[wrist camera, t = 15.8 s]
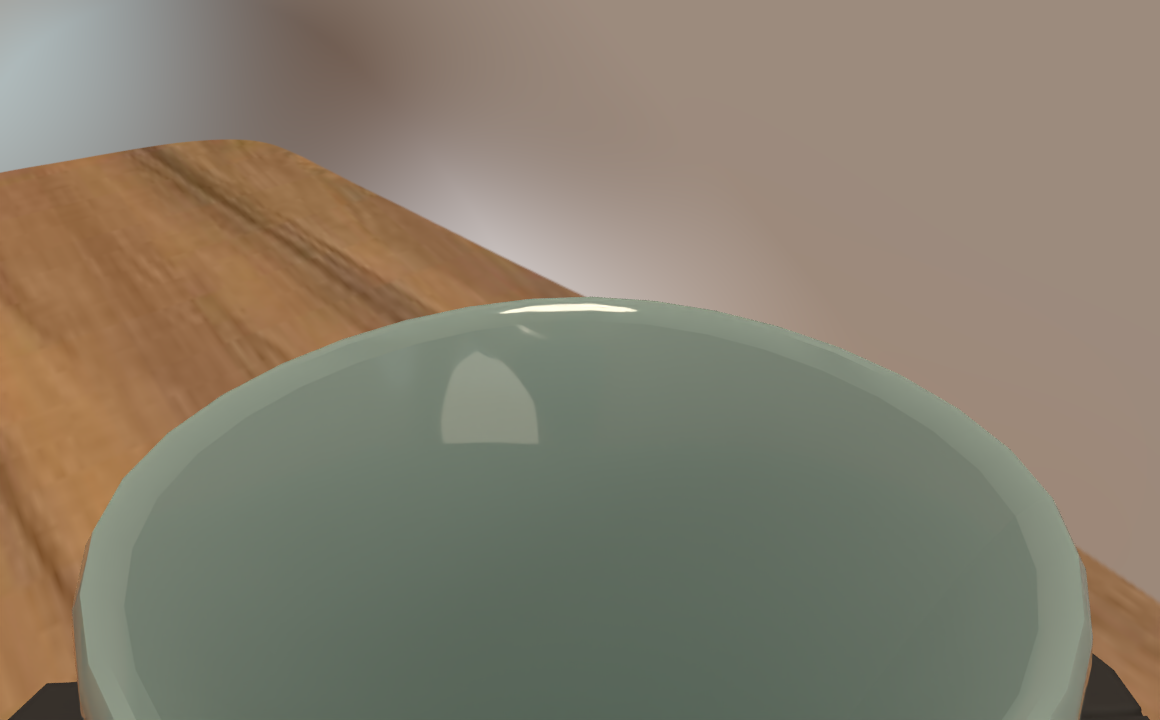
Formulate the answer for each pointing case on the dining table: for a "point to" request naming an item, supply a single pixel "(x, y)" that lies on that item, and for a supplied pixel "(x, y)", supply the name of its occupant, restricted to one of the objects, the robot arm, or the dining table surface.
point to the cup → (581, 537)
